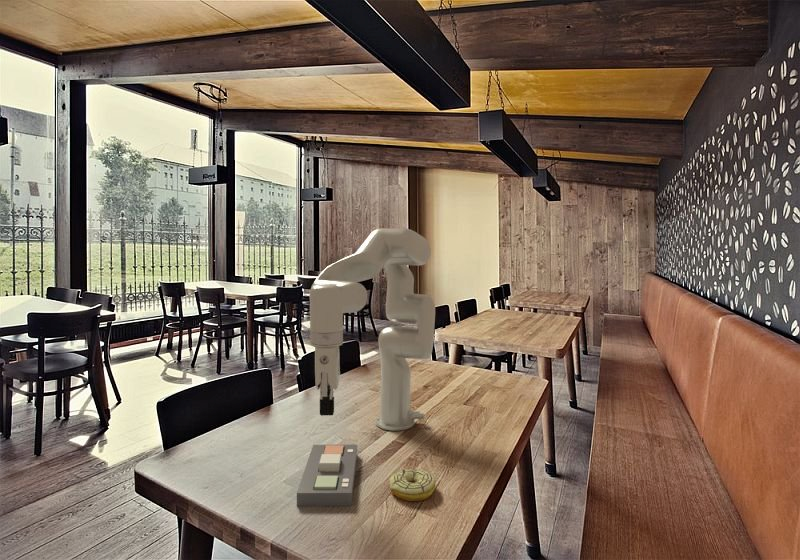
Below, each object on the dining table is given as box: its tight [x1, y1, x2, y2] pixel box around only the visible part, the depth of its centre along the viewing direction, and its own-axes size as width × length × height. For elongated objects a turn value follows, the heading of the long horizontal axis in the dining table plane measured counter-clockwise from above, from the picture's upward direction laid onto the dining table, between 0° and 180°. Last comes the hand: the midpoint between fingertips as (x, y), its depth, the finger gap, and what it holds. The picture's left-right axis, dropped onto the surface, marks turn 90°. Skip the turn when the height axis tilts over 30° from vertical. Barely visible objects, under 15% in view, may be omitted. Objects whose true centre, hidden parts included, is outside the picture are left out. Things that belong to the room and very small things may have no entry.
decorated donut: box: [389, 468, 436, 502], centre depth 107 cm, size 10×11×4 cm
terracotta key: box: [324, 444, 345, 456], centre depth 120 cm, size 5×5×3 cm
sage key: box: [314, 476, 338, 490], centre depth 104 cm, size 5×5×3 cm
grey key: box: [319, 454, 341, 472], centre depth 112 cm, size 5×5×3 cm
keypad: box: [296, 444, 358, 507], centre depth 112 cm, size 12×24×3 cm, turn 2°
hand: (327, 413), depth 106 cm, fingers closed
